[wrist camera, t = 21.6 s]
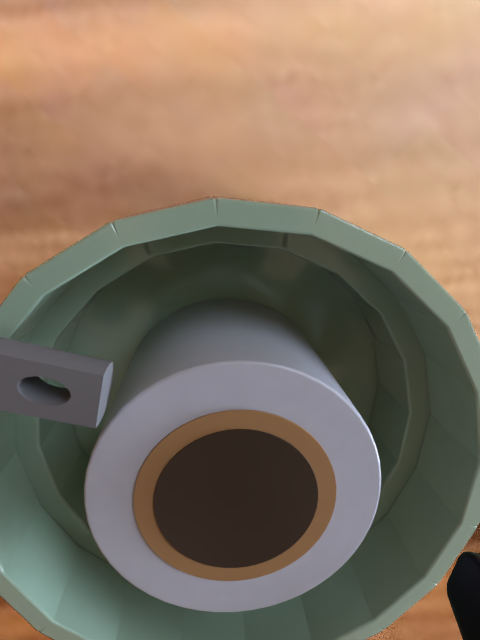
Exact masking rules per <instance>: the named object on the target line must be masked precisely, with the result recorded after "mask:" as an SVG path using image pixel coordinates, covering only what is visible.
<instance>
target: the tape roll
mask: <svg viewBox="0 0 480 640" xmlns="http://www.w3.org/2000/svg"><path fill="white" fill-rule="evenodd" d="M380 489H381V469H380V460H379V455H378V451H377V447H376V444H375V442H374V439H373V437H372V434H371V432H370V430H369V428H368V426H367V425H366V423H365V422H364V420H363V418H362V417H361V415H360V414H359V412H358V411H357V409H356V408H355V407H354V405H353V404H352V402H351V401H350V399H349V398H348V397H347V395H346V394H345V392H344V391H343V390H342V388H341V387H340V385H339V384H338V382H337V381H336V380H335V378H334V377H333V375H332V374H331V372H330V371H329V370H328V368H327V367H326V365H325V364H324V363H323V361H322V360H321V358H320V357H319V355H318V354H317V353H316V351H315V350H314V348H313V347H312V346H311V344H310V343H309V341H308V340H307V338H306V337H305V336H304V335H303V333H302V332H301V331H300V330H299V329H298V327H297V326H295V325H294V324H293V323H292V322H291V321H290V320H289V319H287V318H286V317H284V316H283V315H281V314H280V313H279V312H277V311H275V310H273V309H271V308H269V307H267V306H264V305H261V304H258V303H255V302H251V301H246V300H241V299H228V298H226V299H212V300H207V301H201V302H198V303H195V304H191V305H188V306H186V307H184V308H182V309H180V310H177V311H175V312H174V313H172V314H171V315H169V316H167V317H166V318H164V319H163V320H162V321H161V322H159V323H158V324H157V325H156V326H155V327H154V328H153V329H152V330H151V331H150V332H149V333H148V334H147V335H146V336H145V338H144V339H143V341H142V342H141V344H140V345H139V347H138V348H137V350H136V352H135V354H134V357H133V359H132V361H131V363H130V365H129V368H128V370H127V372H126V375H125V377H124V379H123V382H122V384H121V386H120V388H119V391H118V393H117V395H116V398H115V400H114V402H113V405H112V407H111V409H110V411H109V414H108V416H107V418H106V421H105V423H104V425H103V427H102V430H101V432H100V434H99V437H98V439H97V441H96V444H95V446H94V448H93V450H92V453H91V456H90V459H89V463H88V466H87V469H86V476H85V483H84V505H85V510H86V516H87V521H88V524H89V527H90V530H91V533H92V536H93V538H94V540H95V542H96V543H97V545H98V547H99V549H100V551H101V552H102V554H103V555H104V556H105V558H106V559H107V561H108V562H109V563H110V565H111V566H112V567H113V568H114V569H115V570H116V571H117V572H118V573H119V574H120V575H121V576H122V577H124V578H125V579H126V580H127V581H129V582H130V583H131V584H133V585H134V586H135V587H137V588H139V589H140V590H142V591H144V592H145V593H147V594H149V595H151V596H153V597H155V598H157V599H160V600H162V601H164V602H167V603H170V604H173V605H176V606H180V607H183V608H188V609H193V610H198V611H209V612H239V611H248V610H254V609H259V608H264V607H269V606H272V605H275V604H278V603H281V602H285V601H287V600H289V599H292V598H294V597H296V596H299V595H301V594H303V593H305V592H306V591H308V590H310V589H312V588H314V587H315V586H317V585H318V584H320V583H321V582H323V581H324V580H326V579H327V578H328V577H330V576H331V575H332V574H333V573H335V572H336V571H337V570H338V569H339V568H340V567H341V566H342V565H343V564H344V563H345V562H346V561H347V560H348V559H349V558H350V557H351V556H352V555H353V553H354V552H355V551H356V549H357V548H358V547H359V545H360V544H361V542H362V541H363V539H364V538H365V536H366V534H367V532H368V530H369V528H370V526H371V524H372V521H373V519H374V516H375V513H376V511H377V506H378V502H379V497H380Z"/></svg>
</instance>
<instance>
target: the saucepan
mask: <svg viewBox="0 0 480 640" xmlns="http://www.w3.org/2000/svg"><path fill="white" fill-rule="evenodd" d="M40 377H46V378H49V379H53V380H56V381H58V382H59V383H61V384H63V385H65V386H66V388H64V387H56V386H53V385H50V384H48V383H46V382H45V381H43V380H42V379H41V378H40ZM112 382H113V362H112V361H108V360H104V359H99V358H95V357H90V356H85V355H81V354H76V353H72V352H67V351H63V350H58V349H53V348H49V347H44V346H40V345H35V344H31V343H26V342H22V341H17V340H12V339H8V338H3V337H0V411H6V412H11V413H16V414H21V415H27V416H32V417H37V418H43V419H48V420H53V421H58V422H64V423H69V424H74V425H80V426H85V427H90V428H96V427H97V426H98V425H99V423H100V422H101V420H102V418H103V416H104V413H105V410H106V407H107V403H108V400H109V396H110V391H111V387H112Z"/></svg>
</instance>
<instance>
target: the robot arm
mask: <svg viewBox="0 0 480 640" xmlns="http://www.w3.org/2000/svg"><path fill="white" fill-rule="evenodd" d="M447 595H448V598H449V601H450V604H451V607H452V610H453V612H454V615H455V618H456V621H457V624H458V627H459V629H460V632H461V635H462V638H463V640H480V553H475V552H463V553H462V554H461V555H460V556H459V558H458V560H457V563H456V565H455V567H454V569H453V571H452V573H451V575H450V577H449V579H448V582H447Z"/></svg>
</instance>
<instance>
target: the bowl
mask: <svg viewBox="0 0 480 640" xmlns="http://www.w3.org/2000/svg"><path fill="white" fill-rule="evenodd" d="M226 298H228V299H241V300H246V301H251V302H255V303H258V304H261V305H264V306H267V307H269V308H271V309H273V310H275V311H277V312H279V313H280V314H281V315H283V316H284V317H286V318H287V319H289V320H290V321H291V322H292V323H293V324H294V325H295V326H297V327H298V329H299V330H300V331H301V332H302V333H303V335H304V336H305V337H306V338H307V340H308V341H309V343H310V344H311V346H312V347H313V348H314V350H315V351H316V353H317V354H318V355H319V357H320V358H321V360H322V361H323V363H324V364H325V365H326V367H327V368H328V370H329V371H330V372H331V374H332V375H333V377H334V378H335V380H336V381H337V382H338V384H339V385H340V387H341V388H342V390H343V391H344V392H345V394H346V395H347V397H348V398H349V399H350V401H351V402H352V404H353V405H354V407H355V408H356V409H357V411H358V412H359V414H360V415H361V417H362V418H363V420H364V422H365V423H366V425H367V426H368V428H369V430H370V432H371V434H372V437H373V439H374V442H375V444H376V447H377V451H378V455H379V460H380V469H381V489H380V497H379V502H378V506H377V511H376V513H375V516H374V519H373V521H372V524H371V526H370V528H369V530H368V532H367V534H366V536H365V538H364V539H363V541H362V542H361V544H360V545H359V547H358V548H357V549H356V551H355V552H354V553H353V555H352V556H351V557H350V558H349V559H348V560H347V561H346V562H345V563H344V564H343V565H342V566H341V567H340V568H339V569H338V570H337V571H336V572H335V573H333V574H332V575H331V576H330V577H328V578H327V579H326V580H324V581H323V582H321V583H320V584H318V585H317V586H315V587H314V588H312V589H310V590H308V591H306V592H305V593H303V594H301V595H299V596H296V597H294V598H292V599H289V600H287V601H285V602H281V603H278V604H275V605H272V606H269V607H264V608H259V609H254V610H248V611H239V612H209V611H198V610H193V609H188V608H183V607H180V606H176V605H173V604H170V603H167V602H164V601H162V600H160V599H157V598H155V597H153V596H151V595H149V594H147V593H145V592H144V591H142V590H140V589H139V588H137V587H135V586H134V585H133V584H131V583H130V582H129V581H127V580H126V579H125V578H124V577H122V576H121V575H120V574H119V573H118V572H117V571H116V570H115V569H114V568H113V567H112V566H111V565H110V563H109V562H108V561H107V559H106V558H105V556H104V555H103V554H102V552H101V551H100V549H99V547H98V545H97V543H96V542H95V540H94V538H93V536H92V533H91V530H90V527H89V524H88V521H87V516H86V510H85V505H84V483H85V476H86V469H87V466H88V463H89V459H90V456H91V453H92V450H93V448H94V446H95V444H96V441H97V439H98V437H99V434H100V432H101V430H102V427H103V425H104V423H105V421H106V418H107V416H108V414H109V411H110V409H111V407H112V405H113V402H114V400H115V398H116V395H117V393H118V391H119V388H120V386H121V384H122V382H123V379H124V377H125V375H126V372H127V370H128V368H129V365H130V363H131V361H132V359H133V357H134V354H135V352H136V350H137V348H138V347H139V345H140V344H141V342H142V341H143V339H144V338H145V336H146V335H147V334H148V333H149V332H150V331H151V330H152V329H153V328H154V327H155V326H156V325H157V324H158V323H159V322H161V321H162V320H163V319H164V318H166V317H167V316H169V315H171V314H172V313H174V312H175V311H177V310H180V309H182V308H184V307H186V306H188V305H191V304H195V303H198V302H201V301H207V300H212V299H226ZM0 337H3V338H8V339H12V340H17V341H22V342H26V343H31V344H35V345H40V346H44V347H49V348H53V349H58V350H63V351H67V352H72V353H76V354H81V355H85V356H90V357H95V358H99V359H104V360H108V361H112V362H113V382H112V387H111V391H110V396H109V400H108V403H107V407H106V410H105V413H104V416H103V418H102V420H101V422H100V423H99V425H98V426H97V427H96V428H90V427H85V426H80V425H74V424H69V423H64V422H58V421H53V420H48V419H43V418H37V417H32V416H27V415H21V414H16V413H11V412H6V411H0V596H1V597H2V598H3V599H4V600H5V601H6V602H7V603H8V604H9V605H10V606H11V607H13V608H14V609H15V610H16V611H17V612H18V613H19V614H20V615H21V616H22V617H23V618H24V619H25V620H26V621H27V622H28V623H29V624H30V625H32V626H33V627H34V628H35V629H36V630H37V631H40V633H41V634H43V635H45V636H47V637H49V638H51V639H53V640H366V639H368V638H370V637H372V636H374V635H376V634H378V633H380V632H382V631H383V630H384V629H386V628H387V627H388V626H390V625H391V624H392V623H393V622H394V621H395V620H397V619H398V618H399V617H400V616H401V615H403V614H404V613H405V612H406V611H407V610H409V609H410V608H411V607H412V606H413V605H414V604H416V603H417V602H418V601H419V600H420V599H422V598H423V597H424V596H425V595H426V594H427V593H429V592H430V591H431V590H432V589H433V588H435V587H436V585H437V584H438V583H439V582H440V581H441V579H442V578H443V577H444V575H445V574H446V572H447V571H448V569H449V568H450V566H451V565H452V564H453V562H454V561H455V559H456V558H457V556H458V555H459V553H460V552H461V551H462V549H463V548H464V546H465V545H466V543H467V542H468V540H469V539H470V537H471V536H472V535H473V533H474V532H475V530H476V529H477V526H478V525H479V522H480V343H479V341H478V338H477V336H476V333H475V331H474V329H473V326H472V324H471V322H470V319H469V317H468V314H467V313H465V310H464V309H463V308H462V307H461V306H460V305H459V304H458V302H457V301H456V300H455V299H454V298H453V297H452V296H451V295H450V294H449V293H448V292H447V291H446V290H445V289H444V288H443V287H442V286H441V285H440V284H439V283H438V282H437V281H436V280H435V279H434V278H433V277H432V276H431V275H430V274H429V273H428V272H427V271H426V270H425V268H424V267H423V266H422V265H421V264H420V263H419V262H418V261H417V260H416V259H415V258H414V257H413V256H412V255H411V254H410V253H409V252H408V251H405V249H404V248H402V247H400V246H398V245H396V244H394V243H391V242H389V241H387V240H385V239H383V238H381V237H379V236H377V235H375V234H373V233H370V232H368V231H366V230H364V229H362V228H360V227H358V226H356V225H354V224H351V223H349V222H347V221H345V220H343V219H341V218H339V217H337V216H335V215H332V214H330V213H328V212H326V211H324V210H322V209H317V208H313V207H306V206H298V205H290V204H282V203H274V202H264V201H255V200H246V199H236V198H227V197H217V196H212V197H205V198H200V199H196V200H191V201H187V202H182V203H178V204H174V205H169V206H165V207H160V208H156V209H151V210H147V211H144V212H140V213H137V214H133V215H130V216H127V217H123V218H120V219H116V220H114V221H112V222H109V223H107V224H105V225H104V226H102V227H100V228H99V229H97V230H96V231H94V232H92V233H91V234H89V235H88V236H86V237H84V238H83V239H81V240H80V241H78V242H76V243H75V244H73V245H71V246H70V247H68V248H67V249H65V250H63V251H62V252H60V253H59V254H57V255H55V256H54V257H52V258H50V259H49V260H47V261H46V262H44V263H42V264H41V265H39V266H38V267H36V268H34V269H33V270H31V271H29V272H28V273H26V275H25V276H24V277H22V278H21V279H20V280H19V282H18V283H17V284H16V286H15V287H14V288H13V289H12V291H11V292H10V293H9V294H8V296H7V297H6V298H5V300H4V301H3V302H2V303H1V305H0ZM40 378H41V379H42V380H43V381H45V382H46V383H48V384H50V385H53V386H56V387H64V388H66V386H65V385H63V384H61V383H59V382H58V381H56V380H53V379H49V378H46V377H40ZM382 629H383V630H382Z"/></svg>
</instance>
